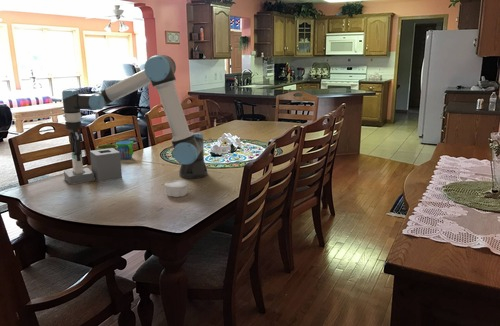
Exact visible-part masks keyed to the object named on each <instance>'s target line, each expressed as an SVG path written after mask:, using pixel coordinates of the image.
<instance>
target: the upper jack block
mask: <svg viewBox="0 0 500 326" xmlns="http://www.w3.org/2000/svg"><path fill="white" fill-rule="evenodd" d="M89 156H90V157H89V158H90V166H91V168H90V169H91V171H92V172H93V173H94V179H95V181H97V182H98V183H99V182H106V181H112V180H117V179H118V180H119V179H122V178H123V173H122V161H121V160H122V159H120V152H119V151H118V150H115V149H114V148H108V149H100V150H98V149H95V150H89Z"/></svg>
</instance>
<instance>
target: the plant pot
mask: <svg viewBox="0 0 500 326" xmlns="http://www.w3.org/2000/svg"><path fill="white" fill-rule="evenodd" d="M117 147H118V146H117V145H116V144H101V145H97V146H96V150H100V149H108V148H114V149H115V150H117ZM117 151H118V150H117Z"/></svg>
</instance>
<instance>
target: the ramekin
mask: <svg viewBox="0 0 500 326" xmlns="http://www.w3.org/2000/svg"><path fill="white" fill-rule="evenodd" d="M189 186H190V185H189V182H188V181H186V180H184V179H183V180H181V179H175V180H169V181H166V182H165V183H164V187H165V193H166V195H167V196H168V197H171V196H174V197H173V198H180V197H179V196H181V197H184V196H186V195H187V194H188V189H189Z"/></svg>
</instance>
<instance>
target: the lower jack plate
mask: <svg viewBox="0 0 500 326" xmlns="http://www.w3.org/2000/svg"><path fill="white" fill-rule="evenodd" d="M63 176H64V177H63V178H64V179H65V181H66V182H67V183H68V184H69V185H75V184H81V183H86V182H87V183H88V182H93V181H96V179H95V178H94V173H93V172H92V169H91V168H89V167H83V173H79V174H74V173H73V169H71V170H64V171H63Z"/></svg>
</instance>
